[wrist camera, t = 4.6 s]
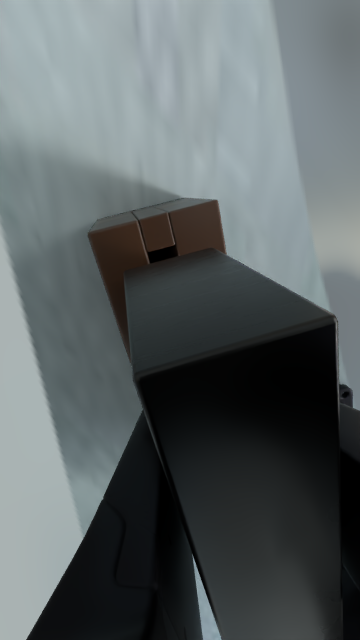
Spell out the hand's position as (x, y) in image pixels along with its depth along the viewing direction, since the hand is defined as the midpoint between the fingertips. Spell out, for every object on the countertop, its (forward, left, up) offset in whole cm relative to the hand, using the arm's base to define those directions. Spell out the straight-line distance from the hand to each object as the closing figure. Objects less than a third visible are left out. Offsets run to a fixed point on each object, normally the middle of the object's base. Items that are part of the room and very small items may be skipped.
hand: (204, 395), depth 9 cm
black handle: (0, 0, -6) cm, 6 cm away
